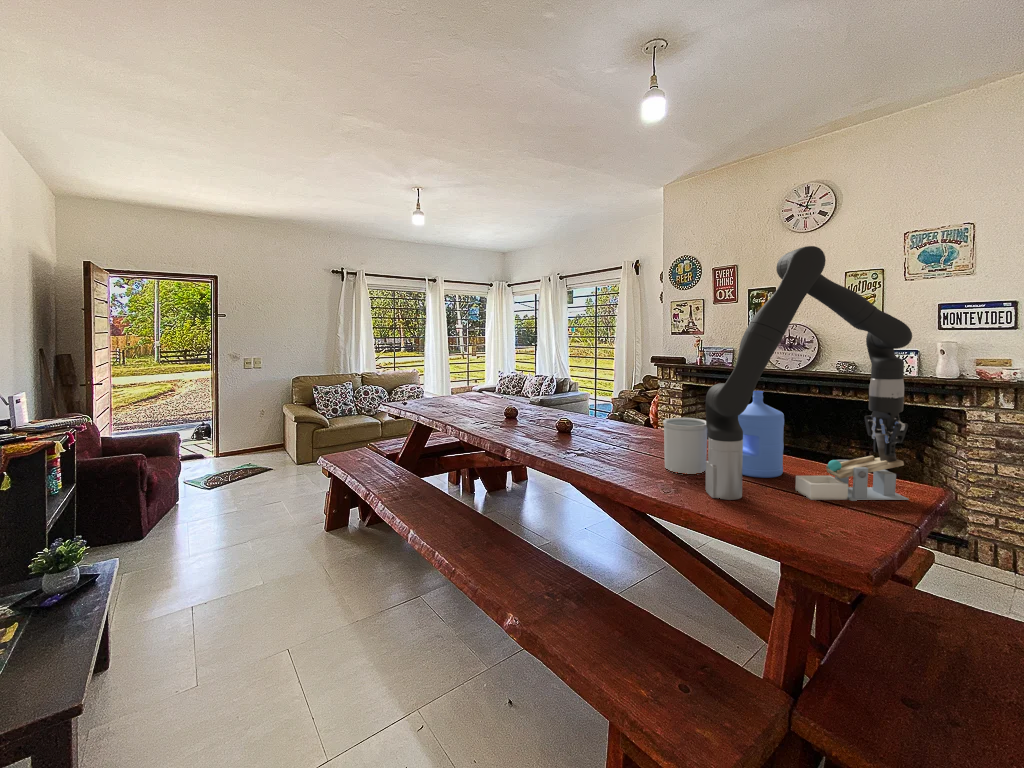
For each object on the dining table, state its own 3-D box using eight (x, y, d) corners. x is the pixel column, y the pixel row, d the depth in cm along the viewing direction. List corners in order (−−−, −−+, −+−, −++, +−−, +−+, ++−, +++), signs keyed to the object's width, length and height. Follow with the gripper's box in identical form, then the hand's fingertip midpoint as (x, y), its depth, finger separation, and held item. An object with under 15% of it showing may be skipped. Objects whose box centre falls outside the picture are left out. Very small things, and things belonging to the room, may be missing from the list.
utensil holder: (715, 475, 150) (715, 424, 148) (671, 476, 150) (671, 425, 149) (697, 463, 165) (698, 417, 163) (657, 464, 165) (657, 418, 163)
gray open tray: (810, 499, 125) (811, 484, 125) (795, 490, 133) (795, 475, 133) (847, 499, 124) (848, 484, 124) (829, 490, 132) (830, 475, 132)
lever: (840, 478, 125) (833, 447, 124) (826, 472, 131) (820, 442, 130) (904, 465, 123) (898, 433, 122) (887, 459, 129) (881, 429, 128)
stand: (850, 500, 123) (852, 468, 122) (829, 489, 133) (830, 459, 132) (908, 500, 122) (910, 468, 121) (883, 489, 131) (884, 459, 131)
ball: (831, 472, 126) (832, 461, 126) (825, 469, 129) (825, 458, 129) (843, 472, 126) (844, 461, 126) (836, 469, 129) (837, 458, 129)
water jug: (769, 465, 159) (770, 388, 156) (792, 478, 144) (794, 393, 141) (724, 465, 161) (725, 389, 158) (742, 478, 145) (743, 394, 143)
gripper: (854, 391, 132) (853, 448, 133) (890, 398, 118) (888, 461, 119) (882, 391, 131) (879, 447, 132) (921, 397, 117) (918, 460, 118)
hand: (883, 453), depth 126 cm, fingers closed on lever, 3 cm apart
